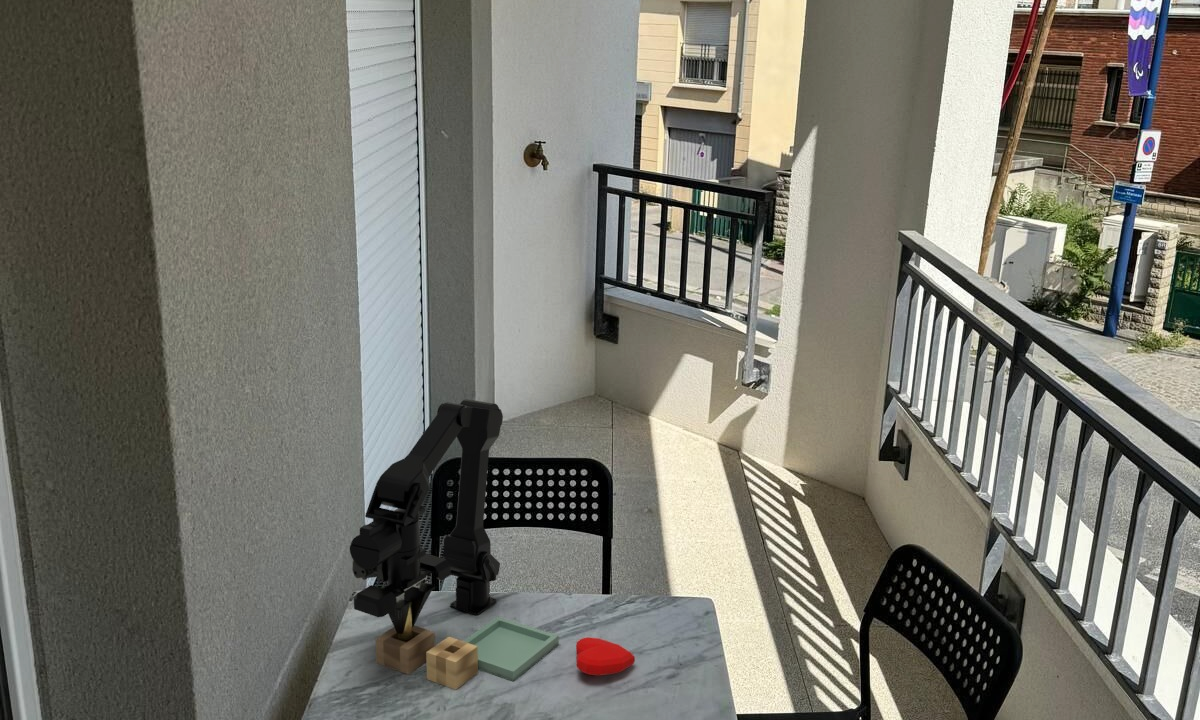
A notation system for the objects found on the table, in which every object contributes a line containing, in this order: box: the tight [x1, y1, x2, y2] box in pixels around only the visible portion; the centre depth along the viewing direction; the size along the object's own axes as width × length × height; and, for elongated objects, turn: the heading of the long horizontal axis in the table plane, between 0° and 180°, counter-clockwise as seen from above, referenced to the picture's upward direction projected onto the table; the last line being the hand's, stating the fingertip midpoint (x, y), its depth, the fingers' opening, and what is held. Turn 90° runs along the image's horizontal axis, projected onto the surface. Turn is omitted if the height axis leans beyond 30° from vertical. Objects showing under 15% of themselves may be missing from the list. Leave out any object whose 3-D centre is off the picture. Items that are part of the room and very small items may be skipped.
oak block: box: [426, 636, 479, 690], centre depth 182 cm, size 6×6×5 cm
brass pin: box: [398, 600, 413, 643], centre depth 185 cm, size 2×2×8 cm
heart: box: [575, 636, 636, 676], centre depth 185 cm, size 12×4×10 cm
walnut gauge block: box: [375, 624, 436, 675], centre depth 186 cm, size 7×7×5 cm
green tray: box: [463, 616, 560, 682], centre depth 190 cm, size 14×13×2 cm
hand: (405, 629), depth 186 cm, fingers closed on brass pin, 2 cm apart
